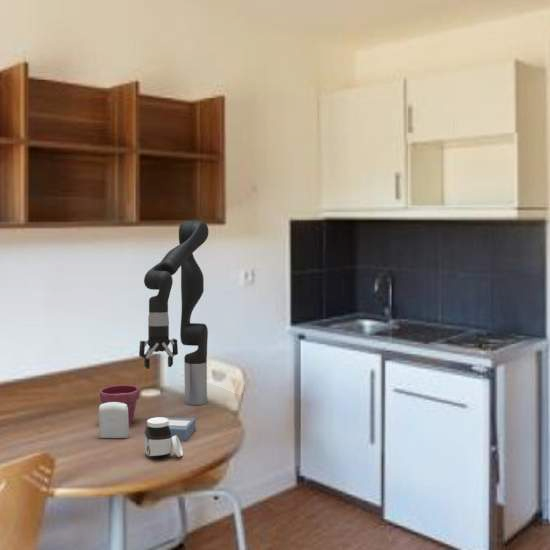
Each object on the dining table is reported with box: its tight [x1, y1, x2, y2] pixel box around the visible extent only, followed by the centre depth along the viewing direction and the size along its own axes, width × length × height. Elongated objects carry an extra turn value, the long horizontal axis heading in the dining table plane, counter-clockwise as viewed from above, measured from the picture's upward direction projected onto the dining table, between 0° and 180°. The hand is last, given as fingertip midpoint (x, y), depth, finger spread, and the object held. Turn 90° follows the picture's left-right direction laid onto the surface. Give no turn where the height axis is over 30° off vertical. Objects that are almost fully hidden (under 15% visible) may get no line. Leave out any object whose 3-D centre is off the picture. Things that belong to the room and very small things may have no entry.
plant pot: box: [99, 384, 140, 425], centre depth 247 cm, size 14×14×13 cm
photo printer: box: [98, 402, 130, 439], centre depth 231 cm, size 10×4×12 cm, turn 90°
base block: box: [162, 416, 197, 442], centre depth 235 cm, size 13×14×4 cm
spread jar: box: [144, 416, 184, 460], centre depth 213 cm, size 12×11×12 cm
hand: (158, 367), depth 247 cm, fingers open, 8 cm apart
